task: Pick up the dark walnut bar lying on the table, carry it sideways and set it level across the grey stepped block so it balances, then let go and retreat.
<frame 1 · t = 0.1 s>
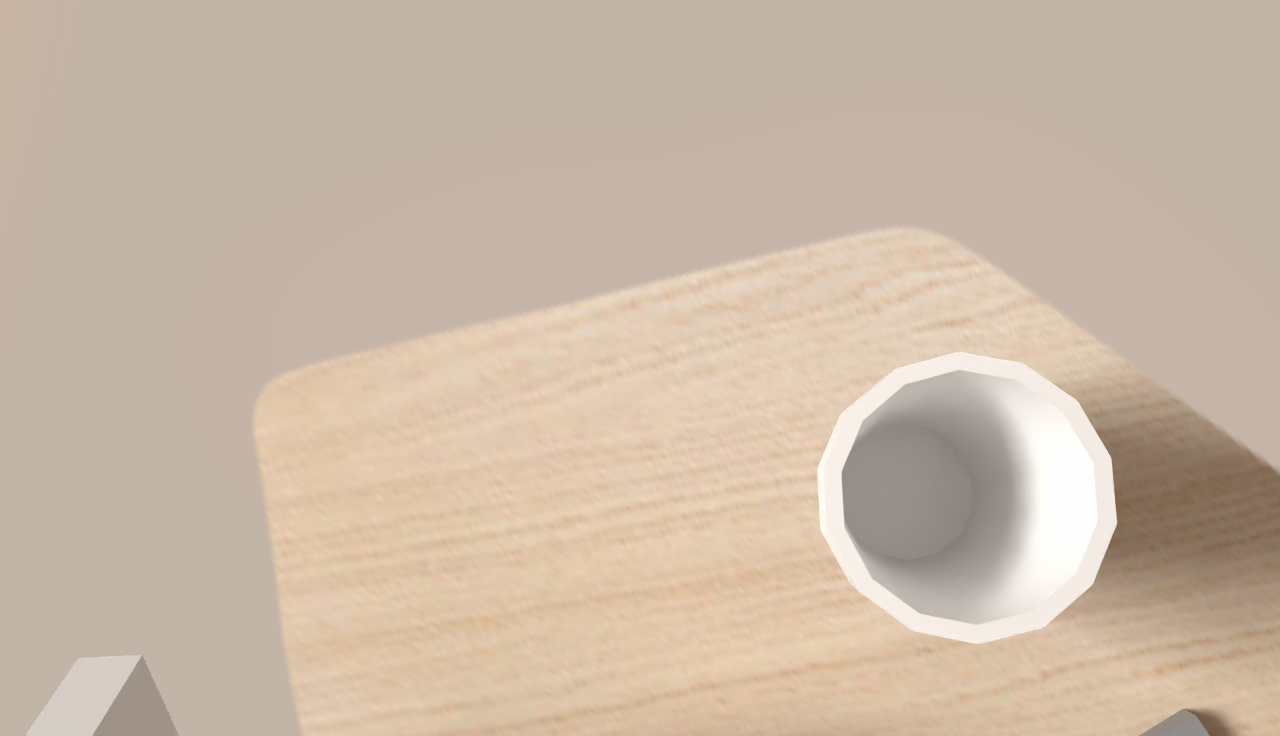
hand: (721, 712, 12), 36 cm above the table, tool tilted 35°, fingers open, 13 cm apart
foam cup: (902, 492, 47), on the table
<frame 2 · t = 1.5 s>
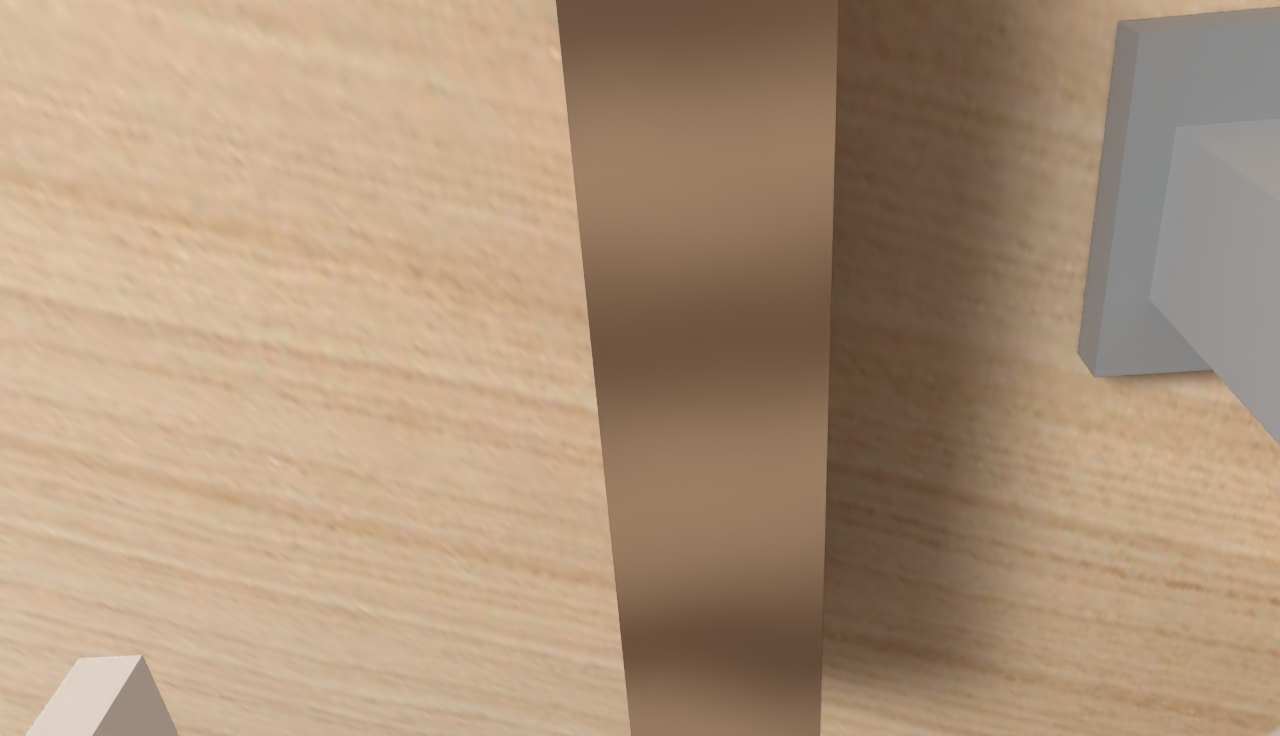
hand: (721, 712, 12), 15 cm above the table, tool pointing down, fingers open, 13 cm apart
bar: (704, 226, 25), on the table
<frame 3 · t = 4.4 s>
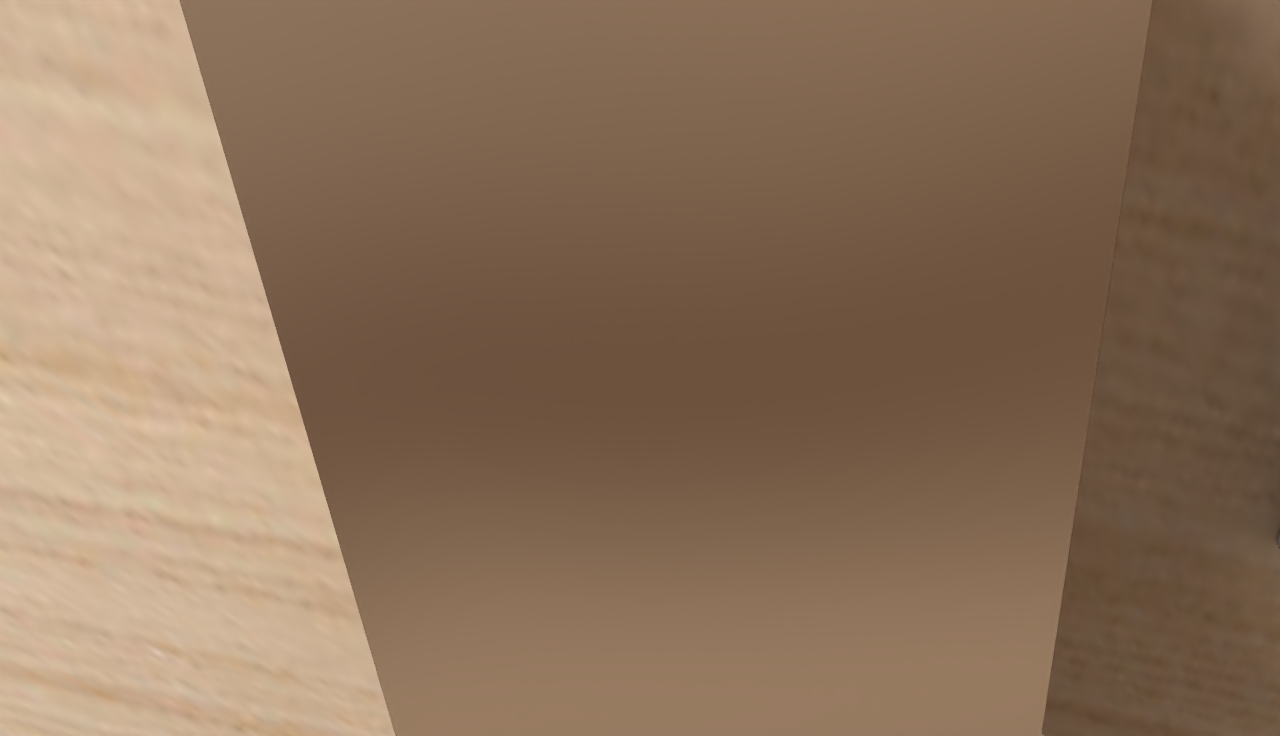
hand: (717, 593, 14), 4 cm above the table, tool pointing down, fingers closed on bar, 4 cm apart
bar: (714, 549, 14), point 4 cm above the table, touching gripper
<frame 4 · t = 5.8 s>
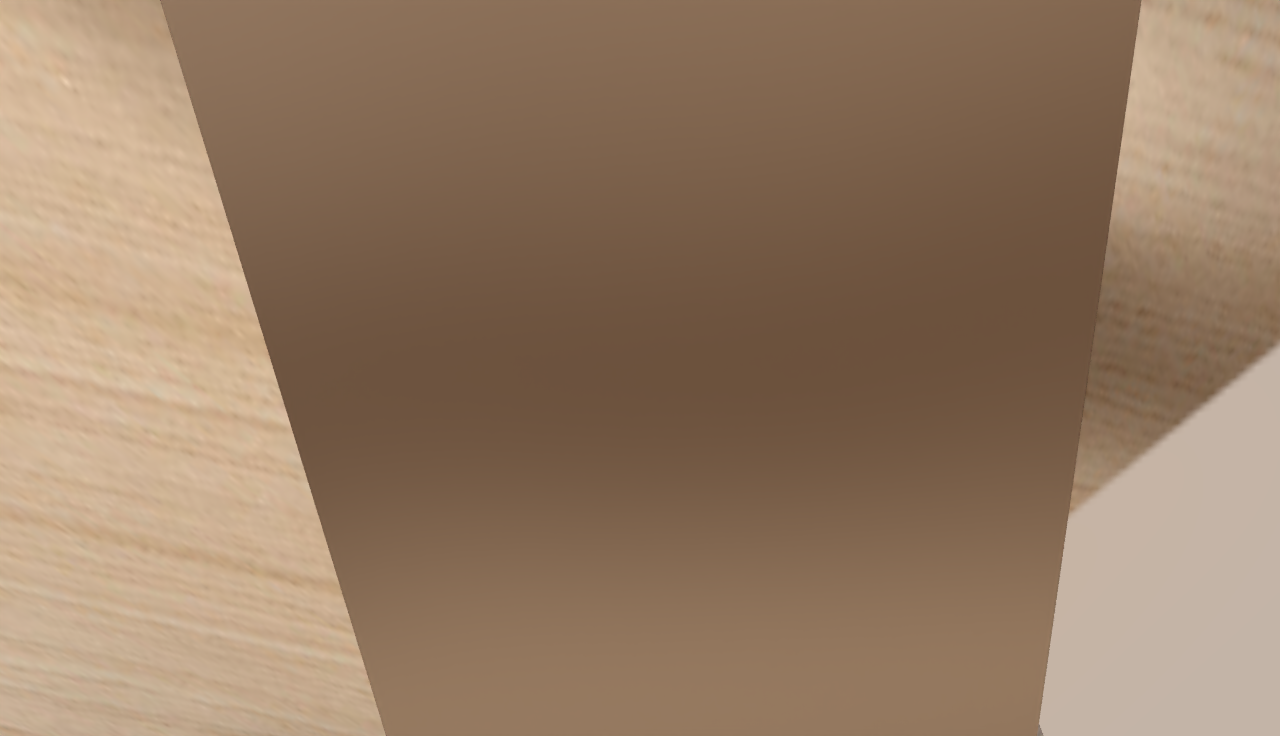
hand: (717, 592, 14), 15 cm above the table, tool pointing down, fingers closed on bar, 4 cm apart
bar: (712, 547, 14), point 14 cm above the table, touching gripper
when the fingers open (9 cm above the table, at t = 7.3 s): bar stays where it is, resting on grey stepped block.
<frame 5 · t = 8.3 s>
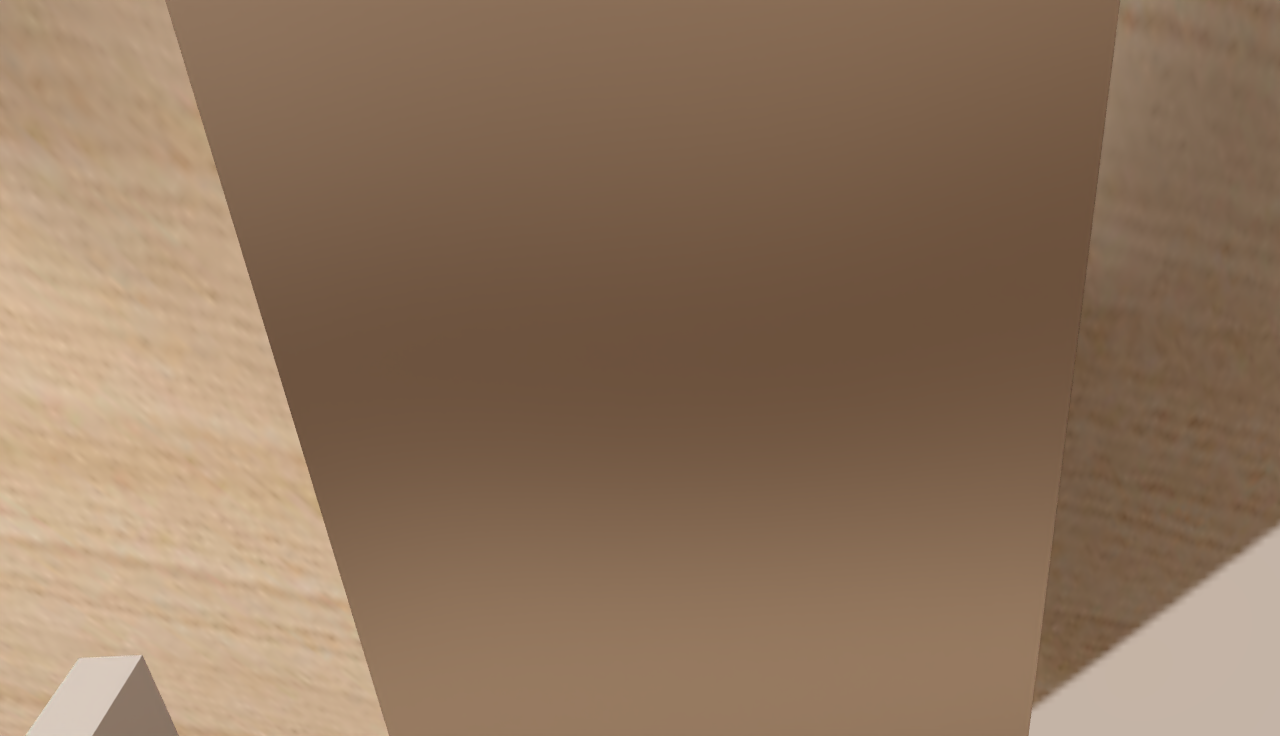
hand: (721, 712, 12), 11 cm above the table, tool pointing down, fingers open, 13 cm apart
bar: (712, 545, 14), point 8 cm above the table, touching grey stepped block
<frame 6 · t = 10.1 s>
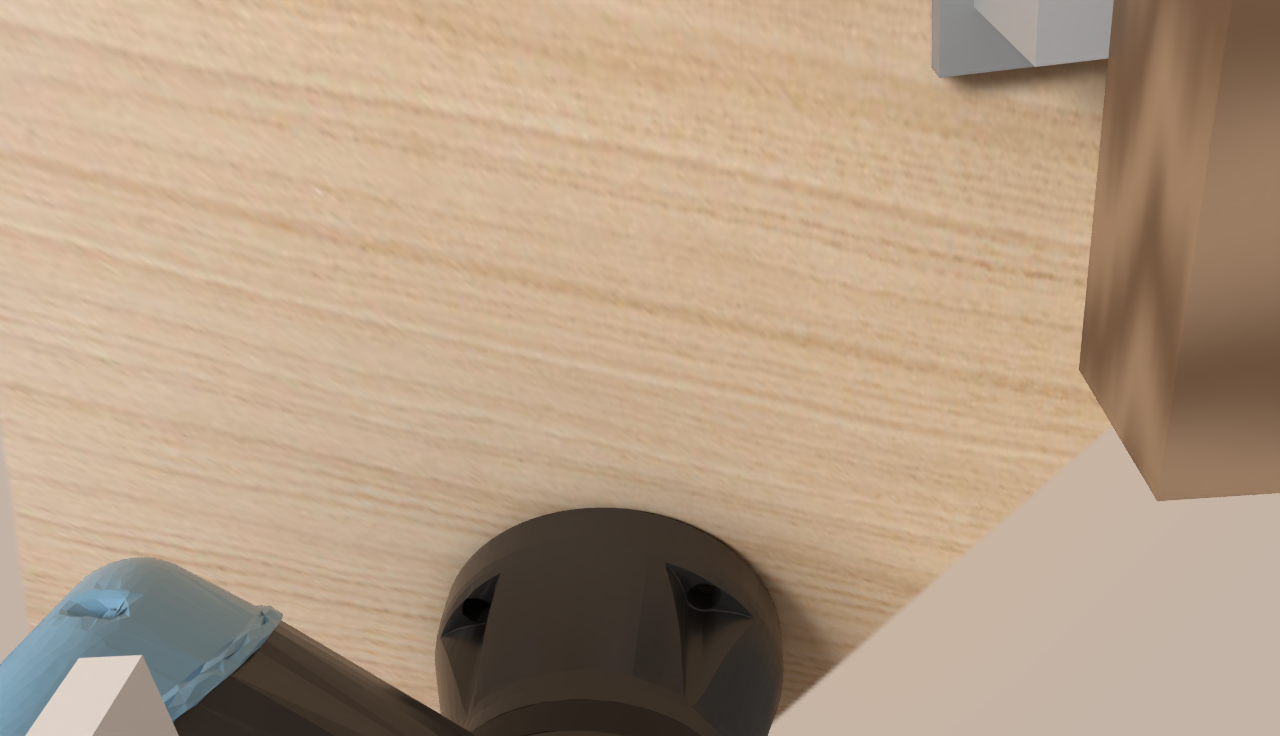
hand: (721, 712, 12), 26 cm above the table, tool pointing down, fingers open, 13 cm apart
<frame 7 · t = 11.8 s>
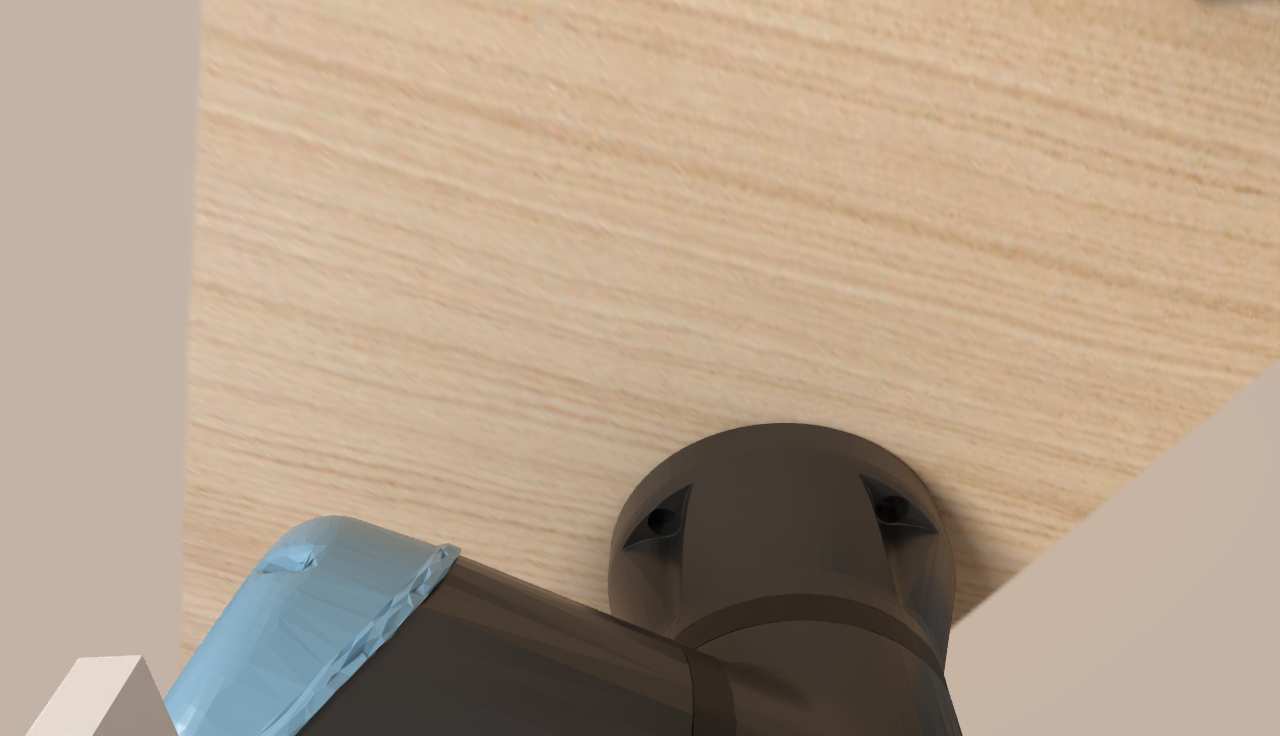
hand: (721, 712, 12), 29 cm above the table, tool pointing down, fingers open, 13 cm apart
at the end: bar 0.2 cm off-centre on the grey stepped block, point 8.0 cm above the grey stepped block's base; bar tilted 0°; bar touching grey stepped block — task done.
